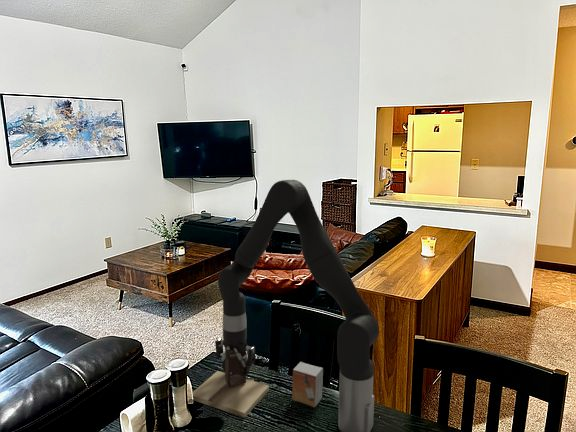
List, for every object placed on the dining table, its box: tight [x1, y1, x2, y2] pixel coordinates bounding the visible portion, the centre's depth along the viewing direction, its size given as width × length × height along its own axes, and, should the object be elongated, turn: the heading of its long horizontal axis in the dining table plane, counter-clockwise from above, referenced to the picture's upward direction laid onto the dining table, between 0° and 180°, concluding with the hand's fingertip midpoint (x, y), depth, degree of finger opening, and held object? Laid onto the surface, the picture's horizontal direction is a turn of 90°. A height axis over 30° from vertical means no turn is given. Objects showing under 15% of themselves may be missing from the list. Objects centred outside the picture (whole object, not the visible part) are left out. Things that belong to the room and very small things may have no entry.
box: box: [224, 347, 247, 387], centre depth 135 cm, size 6×4×12 cm
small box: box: [291, 361, 324, 408], centre depth 130 cm, size 8×6×10 cm
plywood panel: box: [192, 370, 270, 418], centre depth 133 cm, size 20×15×2 cm
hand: (235, 372), depth 136 cm, fingers closed on box, 6 cm apart
